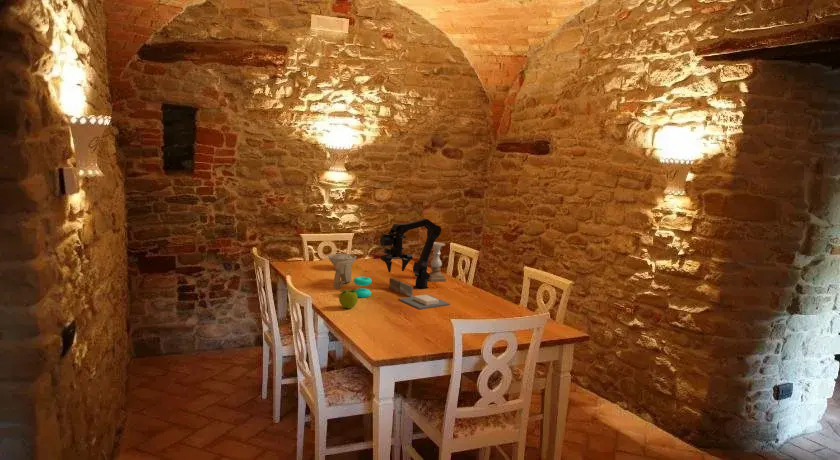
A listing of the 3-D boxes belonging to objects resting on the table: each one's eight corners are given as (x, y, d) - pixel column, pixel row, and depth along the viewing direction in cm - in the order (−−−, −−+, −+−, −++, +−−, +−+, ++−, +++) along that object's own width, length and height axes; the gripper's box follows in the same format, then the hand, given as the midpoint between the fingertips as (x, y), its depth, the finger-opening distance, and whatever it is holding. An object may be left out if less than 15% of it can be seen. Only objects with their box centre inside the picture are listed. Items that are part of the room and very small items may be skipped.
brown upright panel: (392, 287, 315) (393, 278, 314) (413, 296, 298) (414, 286, 297) (389, 288, 314) (389, 278, 313) (410, 297, 296) (410, 286, 295)
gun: (338, 289, 304) (339, 263, 303) (332, 289, 305) (334, 263, 304) (351, 284, 328) (353, 260, 327) (346, 283, 329) (348, 259, 328)
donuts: (353, 275, 297) (371, 276, 298) (352, 293, 298) (370, 293, 300) (354, 280, 287) (372, 280, 289) (353, 298, 288) (371, 298, 290)
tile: (425, 294, 292) (439, 299, 283) (425, 298, 293) (438, 303, 283) (413, 296, 288) (426, 301, 278) (413, 299, 288) (426, 305, 278)
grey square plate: (428, 296, 301) (428, 294, 301) (450, 305, 285) (450, 303, 285) (398, 299, 289) (398, 298, 289) (419, 309, 273) (419, 307, 273)
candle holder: (440, 277, 350) (442, 241, 347) (446, 281, 340) (448, 244, 337) (424, 277, 347) (426, 241, 344) (430, 281, 336) (432, 244, 333)
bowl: (328, 265, 368) (328, 251, 366) (356, 266, 370) (356, 252, 369) (326, 271, 349) (327, 256, 347) (356, 272, 351) (356, 257, 350)
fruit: (358, 310, 266) (359, 290, 265) (340, 310, 264) (340, 291, 262) (355, 305, 275) (356, 286, 274) (337, 305, 272) (338, 286, 271)
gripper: (403, 242, 319) (401, 267, 321) (376, 243, 308) (375, 270, 310) (413, 245, 310) (412, 271, 312) (386, 247, 299) (385, 274, 301)
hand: (396, 271), depth 309 cm, fingers open, 9 cm apart
